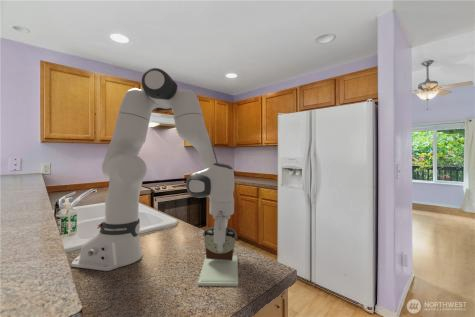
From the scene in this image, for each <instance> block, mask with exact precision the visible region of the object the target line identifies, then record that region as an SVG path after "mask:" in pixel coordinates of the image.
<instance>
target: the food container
mask: <svg viewBox="0 0 475 317" xmlns="http://www.w3.org/2000/svg"><path fill="white" fill-rule="evenodd" d="M219 230H220V229H219ZM237 235H238V234H237V232H236V230H235V229H234V228H231V227H228V226H227V230H226V239H225V243H224V244H223V251H222V252H218V246H217V244H215V243H214V226H211V227H208V228H206V229H205V230H203V232H202V237H204V239H203V240H204V250H205V257H206V259H213V260H225V261H232V259H233V255H234V249H235V241H236V239H238V236H237Z"/></svg>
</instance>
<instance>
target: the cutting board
mask: <svg viewBox="0 0 475 317" xmlns="http://www.w3.org/2000/svg"><path fill="white" fill-rule="evenodd" d="M238 259H239V258H238V255H236V254H235V255H234V254H233V259H232V261H225V260H213V259H206V256H205V257H204V260H203V264H202V267H201V271H200V274H199V277H198V280H197V287H200V286H201V287H202V286H204V287H214V286H215V287H216V286H217V287H238V286H239V266H238V265H239V264H238V263H239V261H238Z"/></svg>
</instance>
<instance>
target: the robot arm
mask: <svg viewBox="0 0 475 317" xmlns="http://www.w3.org/2000/svg"><path fill="white" fill-rule="evenodd" d="M141 86H142V89H139V88H131V89H129V90H127V91H126V92H125V93H124V96H123V98H122V101H121V103H120V106H119V110H118V112H117V118H116V121H115V126H114V130H113V133H112V137H111V140H110V142H109V145H108V147H107V150H106V153H105V156H104V159H103V162H102V164H101V170H102V172H103V176H105V177H106V179H107V180H109V182H108V189H107V193H106V194H107V195H106V197H105V202H104V204H105V205H104V221H102V222H101V223H100V224H98V225H97V227H96V229H99V231H98V232H97V233H96V234H95V235H93V236H92V237H91V238H90V239H88V240H87V241H86V242H84V244H83V245H82V247H81V249H80V253H79V255H78V256H77V257H76V258H74V259H73V260H72V261H71V267H72V268H82V269H88V270H89V269H90V270H96V271H97V270H98V271H103V272H108V271H112V270H115V269H118V268H121V267H124V266H128V265H131V264H133V263H136V262H137V261H139V260H140V259H142V257H143V251H142V249H141V244H140V231H141V230H140V229H141V227H140V226H141V225H140V221H141V220H140V217H139V213H140V212H139V204H140V202H139V201H140V195H141V194H140V193H141V190H142V186H143V180H144V178H145V176H146V174H147V163H146V162H145V160H144V159H142V158H141V157H140V156H139V154H140V152H141V149H142V147H143V146H144V144H145V142H146V139H147V133H148V130H149V124H150V120H151V115H152V112H153V111H156V112H161V111H172V114H173V118H174V126H175V129H176V132H177V134H178V136H179V137H180V138H181V139H182V140H183V141H184V142H186V143H188V144H190V145H191V146H193V147H194V148H195V149H196V151H197V152H198V154H199V156H200V160H201V164H202V167H203V170H199V171H196V172H193V173H191V174H190V175H188V177H187V179H186V184H185V185H186V186H185V187H186V190H187V193H188V194H189V195H190V196H191V197H193V198H196V199H197V198H199V199H200V198H206V197H207V198H208V199H209V211H208V212H209V214H210V215H211V216H212V218H213V219H214V225H213V227H214V243H215V244H217V246H218V252H222V251H223V244H224V243H225V239H226V230H227V227H228V222H229V219H231V216H232V215H233V214H235V198H234V191H235V172H234V169H233V166H231V165H229V164H225V163H220V162H218V159H217V155H216V153H215V149H214V146H213V142H212V139H211V137H210V134H209V133H208V130H207V126H206V124H205V120H204V114H203V110H202V107H201V104H200V101H199V98H198V96H197V93H196V92H195V91H192V90H191V89H180V88H178V84H177V83H176V81H175V80H174V79H173V78H172V77H171V75H169V74H168V73H167V72H166V71H164V70H163V69H160V68H157V67H153V68H149V69H147V70H146V71H145V72H144V73H143V74H142V77H141ZM219 229H220V230H219Z"/></svg>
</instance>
